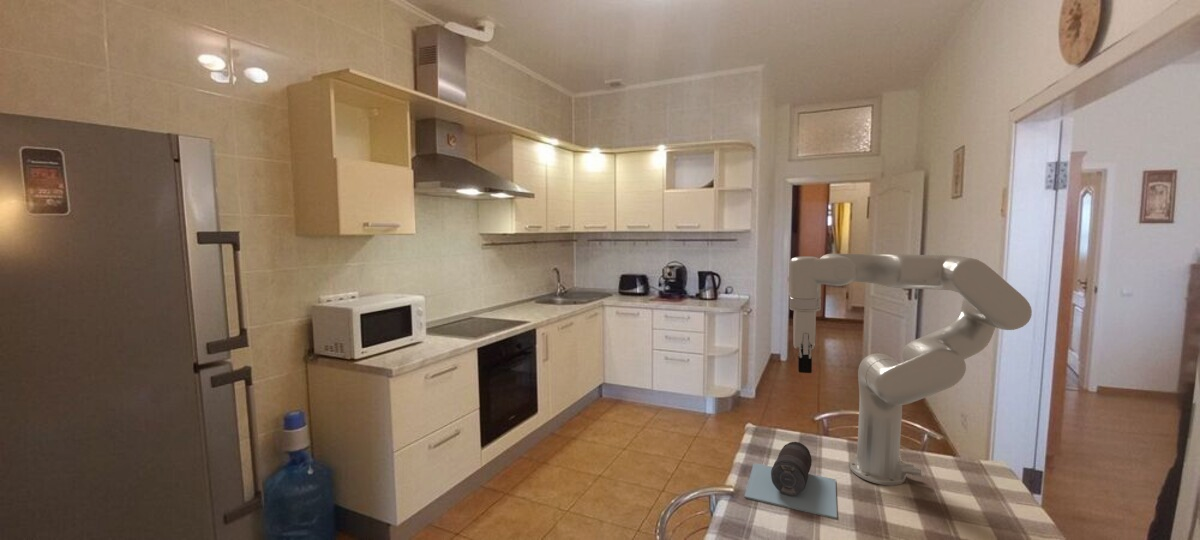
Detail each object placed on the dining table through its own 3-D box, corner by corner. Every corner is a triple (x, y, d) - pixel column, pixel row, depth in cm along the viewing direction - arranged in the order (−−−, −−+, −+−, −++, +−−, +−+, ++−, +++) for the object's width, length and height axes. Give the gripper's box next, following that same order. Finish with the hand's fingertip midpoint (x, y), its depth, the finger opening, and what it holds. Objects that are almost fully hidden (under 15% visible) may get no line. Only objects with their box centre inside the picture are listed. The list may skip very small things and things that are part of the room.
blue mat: (835, 480, 120) (835, 479, 120) (836, 519, 105) (837, 517, 105) (753, 464, 129) (753, 463, 129) (744, 497, 113) (744, 496, 113)
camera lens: (816, 470, 123) (807, 499, 111) (783, 467, 128) (772, 494, 115) (811, 440, 123) (803, 465, 110) (779, 437, 128) (767, 461, 115)
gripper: (789, 298, 131) (789, 362, 133) (789, 308, 117) (790, 379, 119) (818, 299, 129) (818, 364, 130) (823, 309, 115) (822, 382, 116)
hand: (805, 371), depth 125 cm, fingers closed
